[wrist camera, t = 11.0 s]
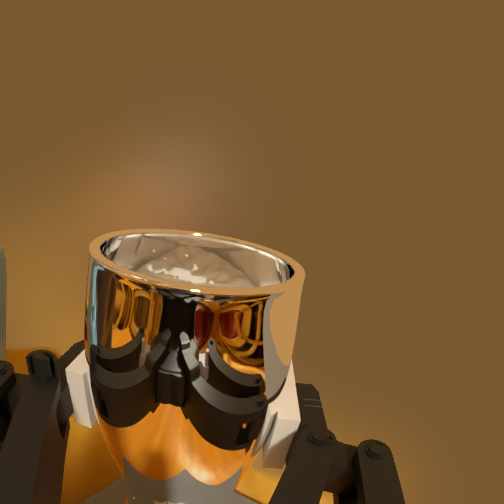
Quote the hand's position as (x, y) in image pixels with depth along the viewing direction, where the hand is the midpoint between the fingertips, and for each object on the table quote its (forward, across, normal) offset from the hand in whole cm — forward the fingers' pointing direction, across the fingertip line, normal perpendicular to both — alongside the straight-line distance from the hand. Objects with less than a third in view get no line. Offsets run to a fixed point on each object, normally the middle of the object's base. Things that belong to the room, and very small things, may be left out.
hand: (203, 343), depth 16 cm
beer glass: (-5, 0, -9) cm, 10 cm away
